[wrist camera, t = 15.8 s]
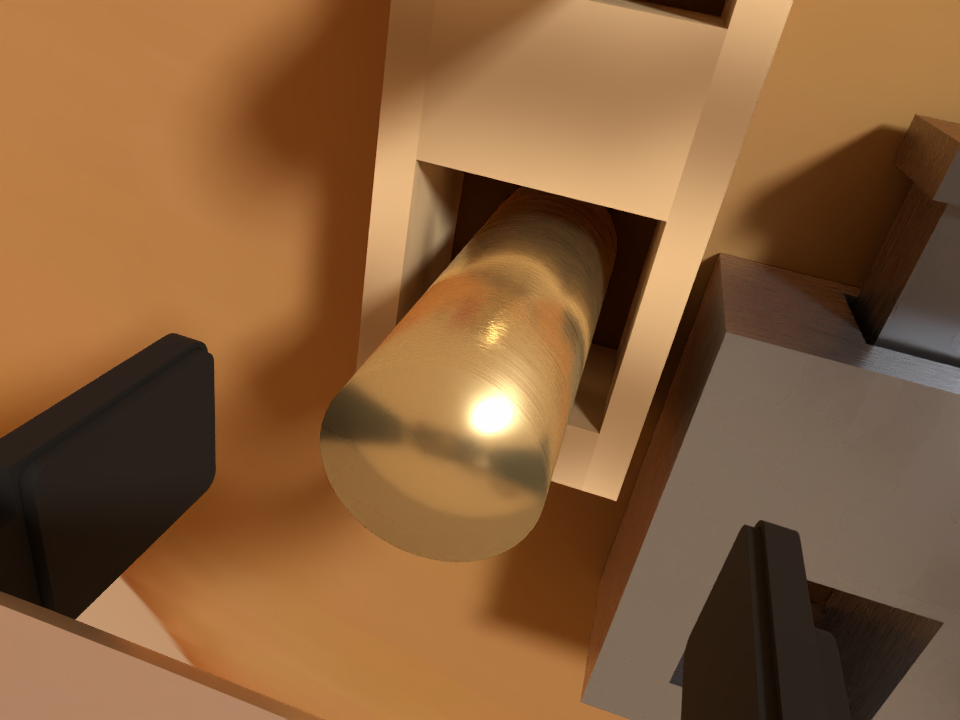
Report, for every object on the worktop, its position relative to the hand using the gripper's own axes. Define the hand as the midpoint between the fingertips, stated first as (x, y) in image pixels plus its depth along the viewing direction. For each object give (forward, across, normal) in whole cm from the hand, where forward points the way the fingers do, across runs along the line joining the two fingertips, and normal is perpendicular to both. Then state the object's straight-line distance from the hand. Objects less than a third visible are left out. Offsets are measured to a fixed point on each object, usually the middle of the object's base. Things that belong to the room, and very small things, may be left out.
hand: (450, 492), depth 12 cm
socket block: (+12, -9, +5) cm, 16 cm away
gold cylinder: (+12, +1, 0) cm, 12 cm away
